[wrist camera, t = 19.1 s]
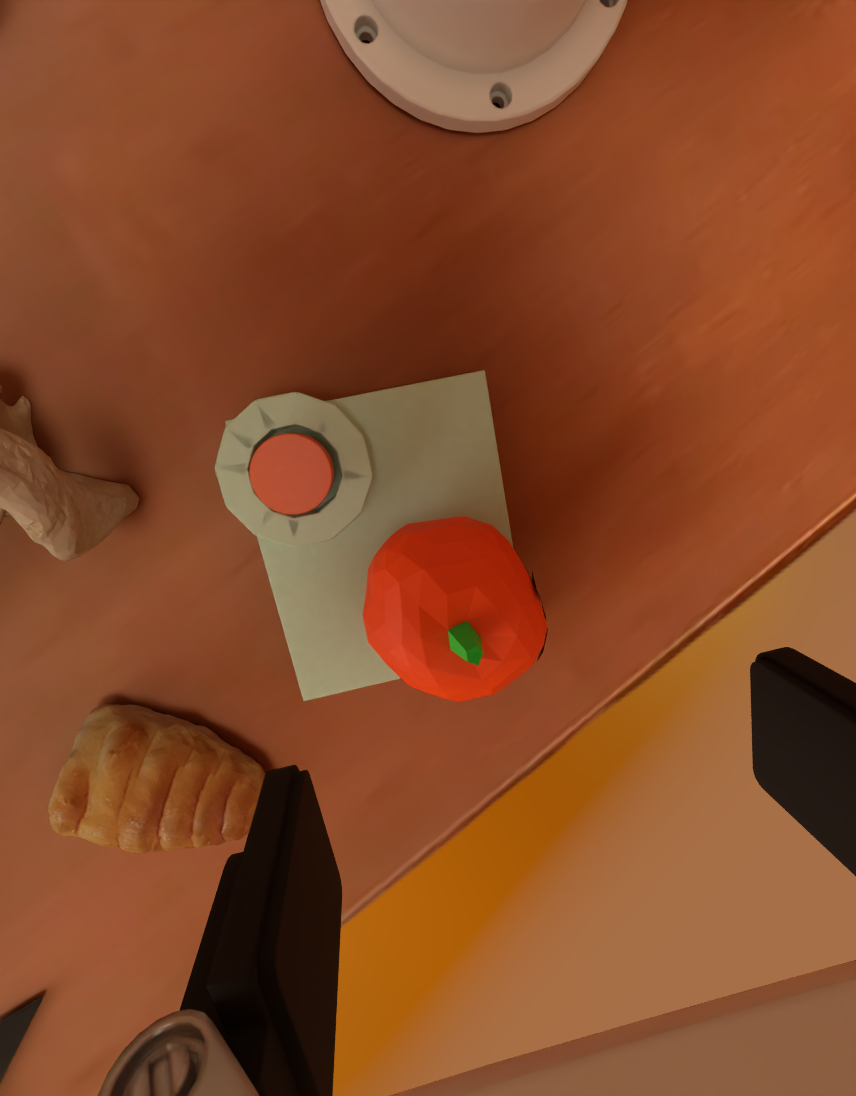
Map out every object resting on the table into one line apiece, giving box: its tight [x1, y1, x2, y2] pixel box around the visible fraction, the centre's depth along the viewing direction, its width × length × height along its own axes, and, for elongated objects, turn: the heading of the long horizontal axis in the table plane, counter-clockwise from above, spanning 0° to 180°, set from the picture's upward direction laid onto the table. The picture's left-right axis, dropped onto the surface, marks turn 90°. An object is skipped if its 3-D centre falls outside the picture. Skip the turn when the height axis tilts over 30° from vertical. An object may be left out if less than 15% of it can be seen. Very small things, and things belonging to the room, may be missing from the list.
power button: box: [249, 433, 334, 515], centre depth 20 cm, size 3×3×2 cm
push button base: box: [215, 370, 513, 701], centre depth 23 cm, size 14×12×4 cm
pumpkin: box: [363, 516, 548, 702], centre depth 21 cm, size 7×8×6 cm
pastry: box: [48, 704, 265, 854], centre depth 25 cm, size 9×7×4 cm
